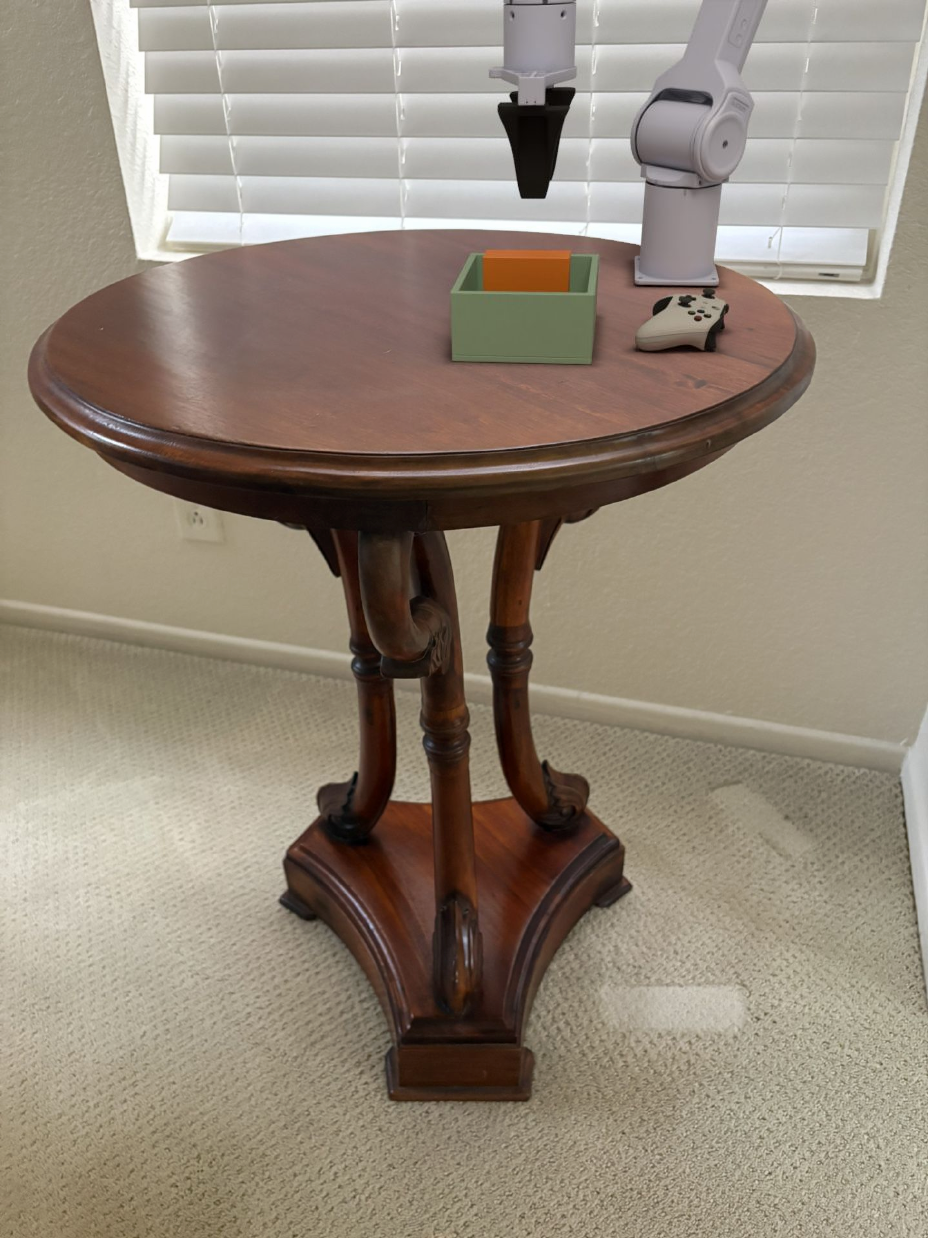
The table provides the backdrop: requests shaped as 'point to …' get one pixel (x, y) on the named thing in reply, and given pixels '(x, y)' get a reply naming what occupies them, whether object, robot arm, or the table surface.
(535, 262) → the block
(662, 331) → the game controller
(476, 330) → the bin
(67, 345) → the table surface
